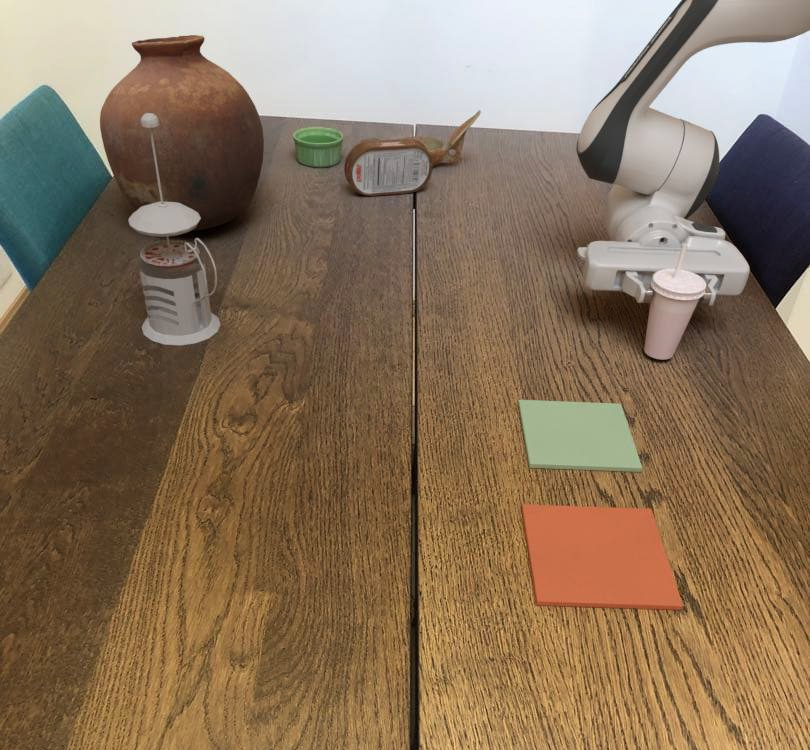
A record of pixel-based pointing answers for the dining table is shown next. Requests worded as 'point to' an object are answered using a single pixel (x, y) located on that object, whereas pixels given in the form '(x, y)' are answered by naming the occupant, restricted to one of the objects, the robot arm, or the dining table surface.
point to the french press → (172, 298)
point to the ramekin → (318, 146)
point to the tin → (388, 167)
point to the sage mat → (577, 436)
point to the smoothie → (671, 308)
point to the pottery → (183, 132)
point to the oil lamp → (441, 149)
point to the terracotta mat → (598, 558)
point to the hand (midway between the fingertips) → (677, 299)
